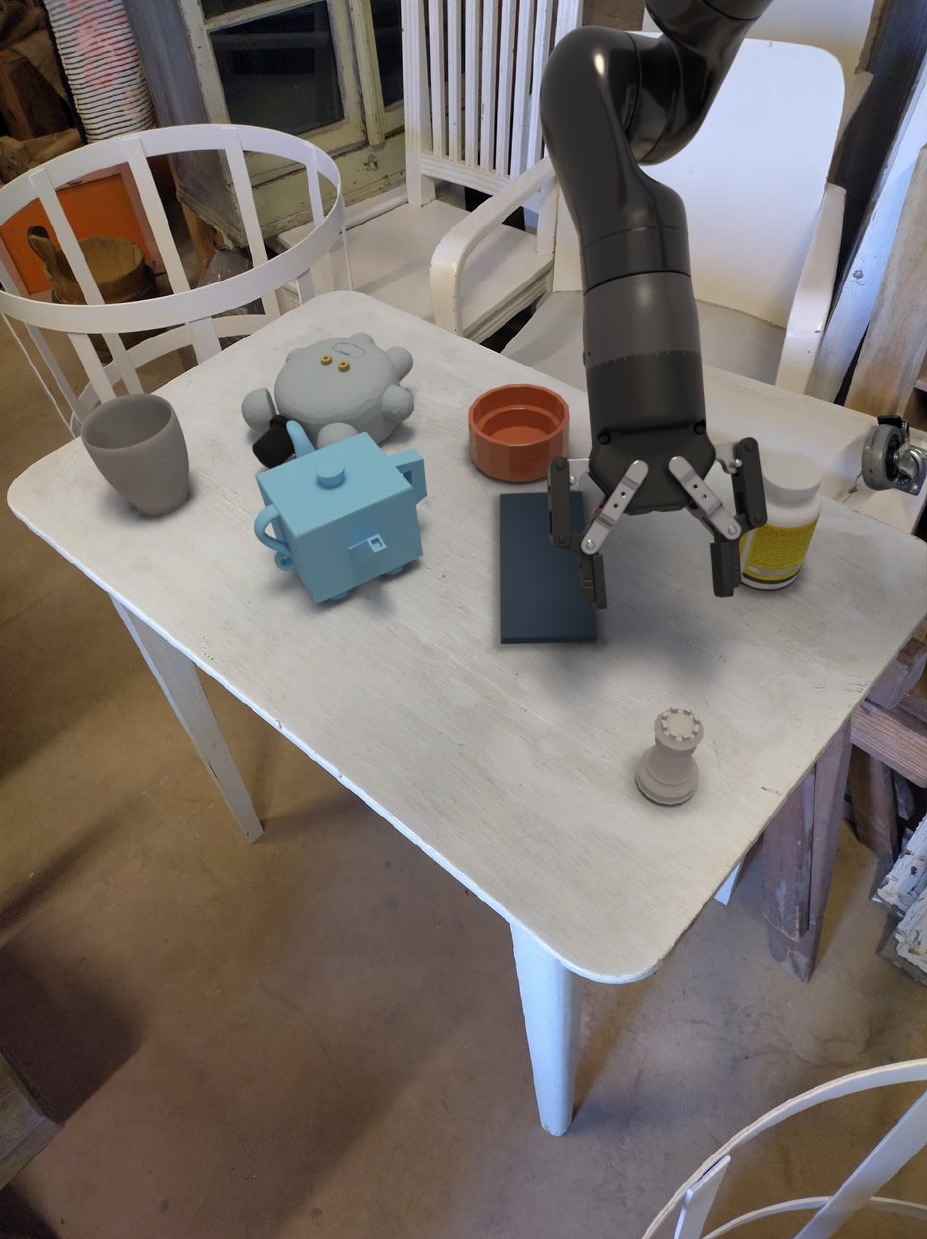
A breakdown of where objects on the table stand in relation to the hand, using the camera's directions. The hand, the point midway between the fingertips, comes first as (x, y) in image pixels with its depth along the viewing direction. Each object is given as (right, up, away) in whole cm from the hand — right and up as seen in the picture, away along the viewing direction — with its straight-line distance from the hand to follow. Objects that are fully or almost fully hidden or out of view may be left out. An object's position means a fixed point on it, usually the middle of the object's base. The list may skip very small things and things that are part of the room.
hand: (662, 602), depth 55 cm
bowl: (-8, +16, +29) cm, 34 cm away
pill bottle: (+13, +3, +17) cm, 22 cm away
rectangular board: (-6, +4, +19) cm, 20 cm away
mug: (-46, +12, +29) cm, 56 cm away
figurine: (-28, +19, +34) cm, 48 cm away
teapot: (-24, +5, +22) cm, 33 cm away
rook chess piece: (+1, -13, +5) cm, 14 cm away
